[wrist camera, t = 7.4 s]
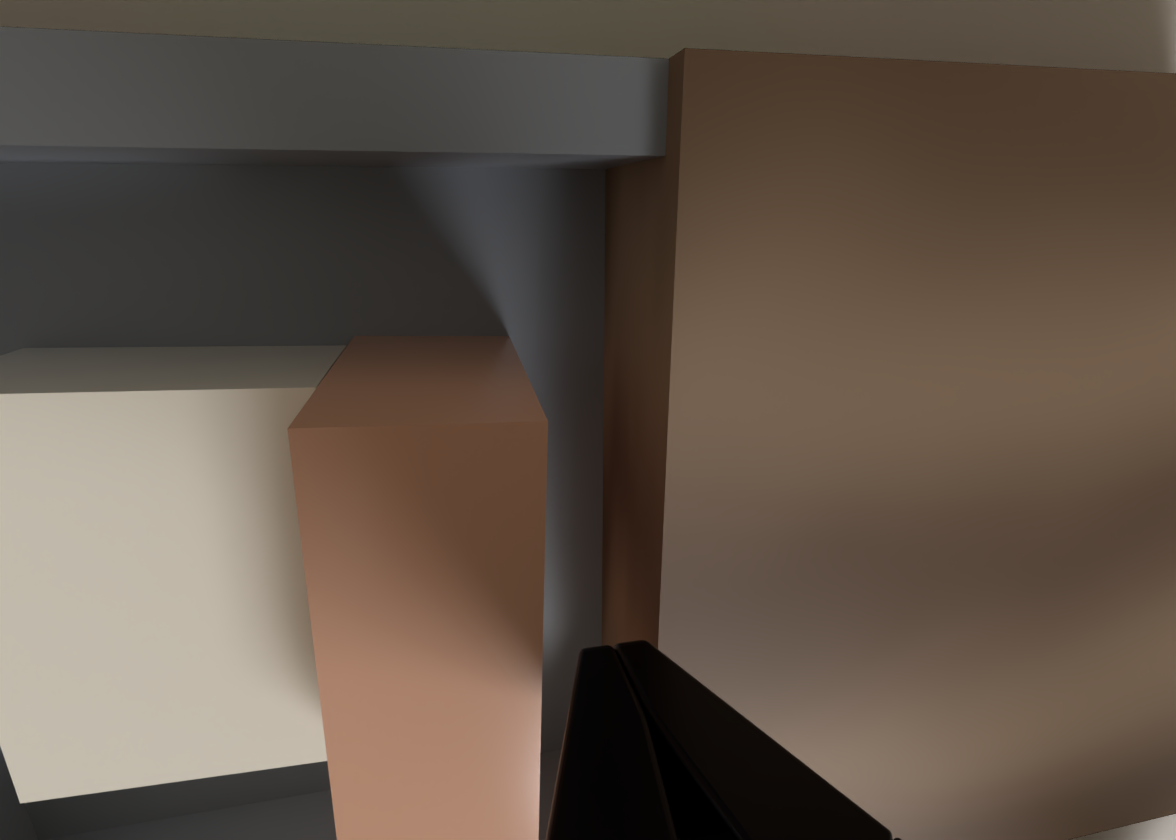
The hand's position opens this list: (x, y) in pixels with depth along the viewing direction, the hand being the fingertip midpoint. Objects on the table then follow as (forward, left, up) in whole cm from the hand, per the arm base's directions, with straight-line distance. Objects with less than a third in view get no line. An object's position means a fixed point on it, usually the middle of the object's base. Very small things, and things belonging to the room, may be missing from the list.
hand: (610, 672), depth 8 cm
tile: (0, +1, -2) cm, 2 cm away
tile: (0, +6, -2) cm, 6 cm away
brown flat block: (0, -7, -5) cm, 9 cm away
